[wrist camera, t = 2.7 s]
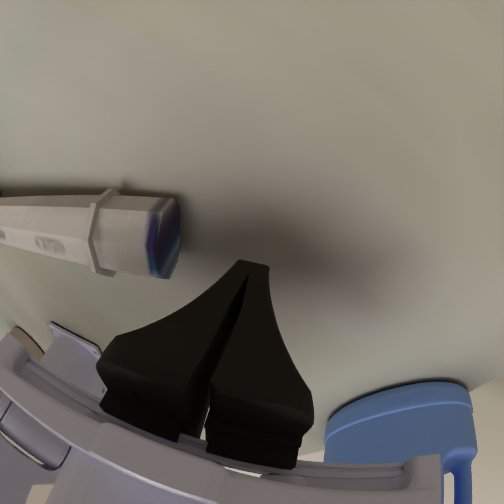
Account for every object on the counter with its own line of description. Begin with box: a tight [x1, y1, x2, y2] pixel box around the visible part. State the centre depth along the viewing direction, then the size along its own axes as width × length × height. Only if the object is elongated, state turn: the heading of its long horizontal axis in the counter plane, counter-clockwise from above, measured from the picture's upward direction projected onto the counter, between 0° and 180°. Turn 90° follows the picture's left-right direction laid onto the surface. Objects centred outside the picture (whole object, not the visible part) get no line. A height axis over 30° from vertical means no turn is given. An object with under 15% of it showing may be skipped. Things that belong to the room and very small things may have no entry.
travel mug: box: [0, 327, 44, 399], centre depth 27 cm, size 8×8×18 cm
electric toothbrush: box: [0, 188, 181, 279], centre depth 14 cm, size 5×7×25 cm
